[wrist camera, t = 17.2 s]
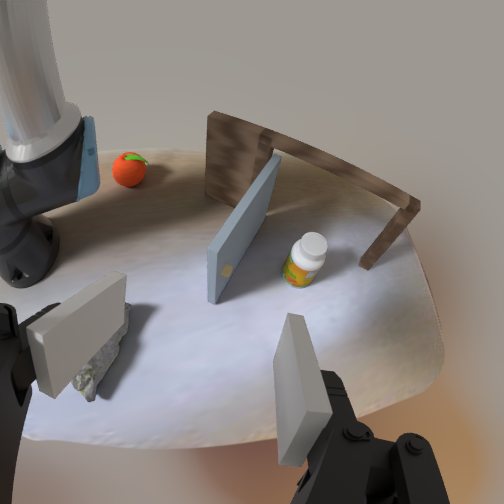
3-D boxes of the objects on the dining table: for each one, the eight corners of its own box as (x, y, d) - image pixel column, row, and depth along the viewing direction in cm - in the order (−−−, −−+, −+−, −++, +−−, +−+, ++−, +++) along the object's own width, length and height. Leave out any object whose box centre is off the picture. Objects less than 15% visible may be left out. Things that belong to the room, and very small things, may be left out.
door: (254, 214, 53) (268, 151, 41) (269, 221, 53) (287, 158, 40) (202, 298, 43) (200, 244, 31) (219, 307, 43) (224, 256, 30)
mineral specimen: (104, 296, 42) (90, 277, 36) (141, 315, 41) (130, 298, 35) (61, 378, 33) (40, 370, 28) (97, 402, 33) (79, 400, 27)
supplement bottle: (275, 266, 49) (289, 233, 40) (302, 256, 50) (319, 223, 42) (290, 293, 46) (308, 264, 38) (317, 282, 48) (339, 252, 40)
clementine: (155, 170, 57) (152, 144, 51) (149, 194, 53) (144, 167, 48) (120, 170, 56) (114, 145, 50) (112, 194, 52) (104, 168, 46)
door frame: (205, 194, 55) (207, 116, 40) (210, 188, 56) (214, 110, 41) (367, 270, 51) (420, 209, 36) (369, 262, 52) (420, 201, 37)
